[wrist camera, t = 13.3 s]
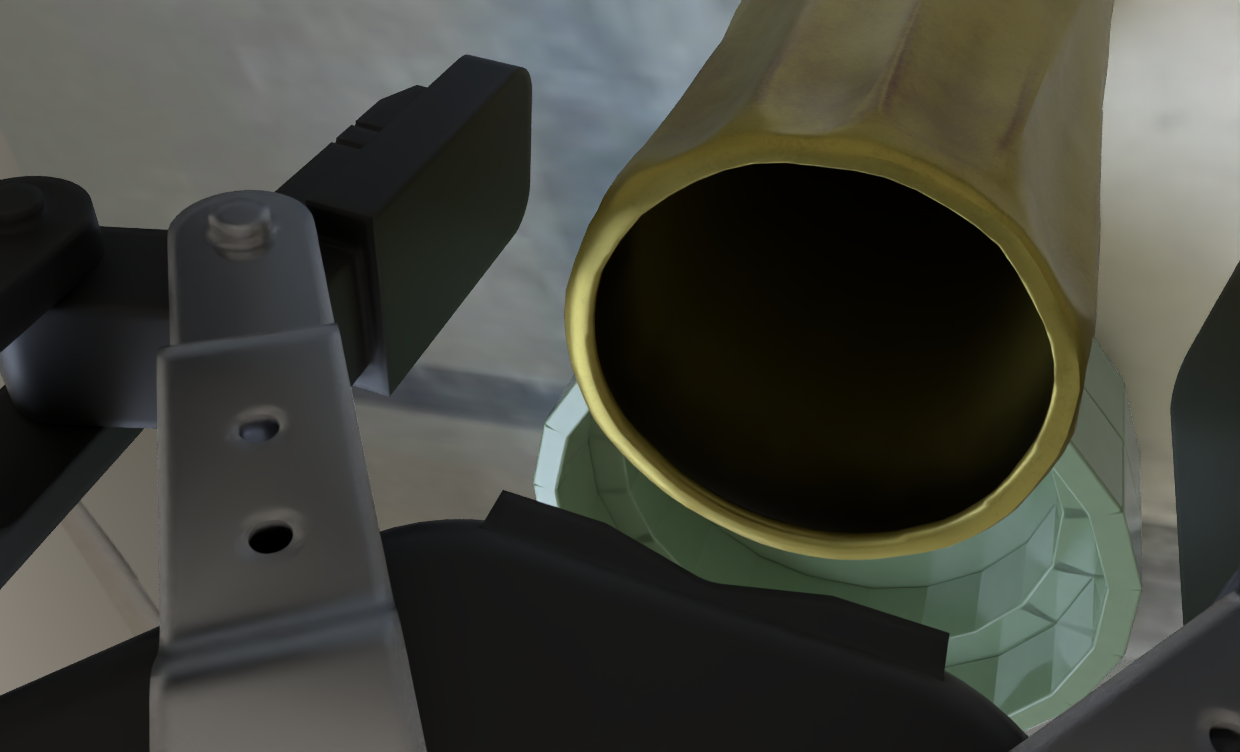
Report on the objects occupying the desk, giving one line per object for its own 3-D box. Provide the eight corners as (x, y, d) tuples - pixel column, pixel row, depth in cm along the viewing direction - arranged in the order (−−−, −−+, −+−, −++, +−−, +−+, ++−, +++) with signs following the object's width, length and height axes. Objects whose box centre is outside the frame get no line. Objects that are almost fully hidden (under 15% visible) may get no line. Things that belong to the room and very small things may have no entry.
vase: (1174, -236, 18) (1240, 130, 8) (1091, 103, 22) (1062, 649, 12) (817, -241, 20) (486, 52, 10) (797, 74, 24) (545, 524, 13)
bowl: (522, 261, 30) (439, 368, 26) (1074, 137, 23) (1064, 262, 19) (706, 614, 37) (661, 738, 33) (1177, 608, 29) (1185, 766, 26)
